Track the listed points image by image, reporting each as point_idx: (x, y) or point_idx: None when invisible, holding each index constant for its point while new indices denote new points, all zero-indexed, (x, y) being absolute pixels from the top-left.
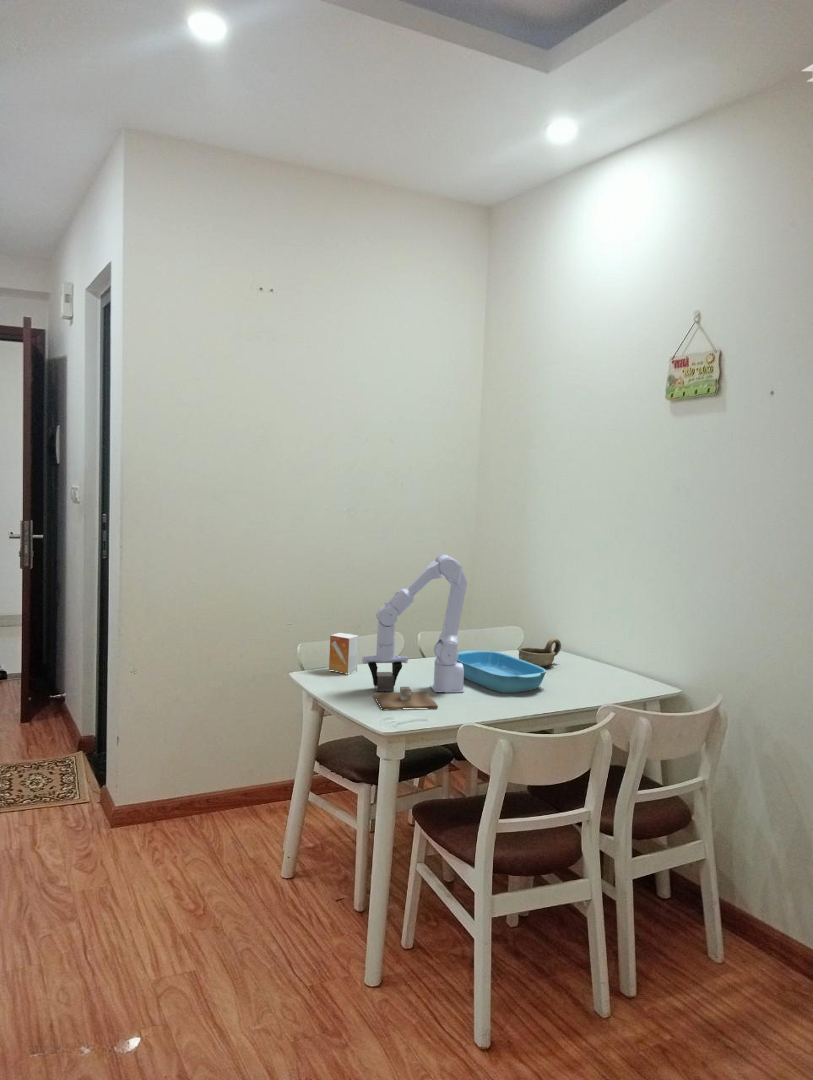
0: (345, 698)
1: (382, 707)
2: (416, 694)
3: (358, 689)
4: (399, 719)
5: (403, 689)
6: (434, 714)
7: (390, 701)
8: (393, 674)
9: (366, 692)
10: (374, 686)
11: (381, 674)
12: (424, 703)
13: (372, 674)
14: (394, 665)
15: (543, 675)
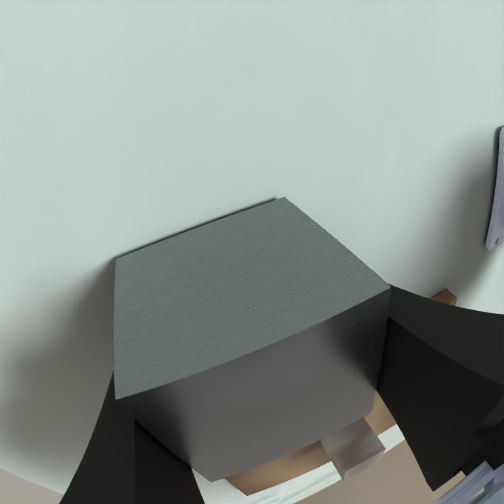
0: (57, 462)
1: (246, 494)
2: None
3: (12, 335)
4: (289, 490)
5: (349, 477)
6: (382, 435)
7: (275, 466)
8: (382, 368)
9: (100, 381)
10: (118, 268)
11: (243, 441)
12: (388, 420)
13: (110, 431)
14: (439, 471)
15: None
